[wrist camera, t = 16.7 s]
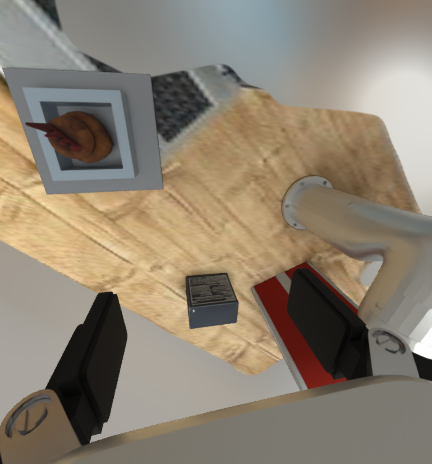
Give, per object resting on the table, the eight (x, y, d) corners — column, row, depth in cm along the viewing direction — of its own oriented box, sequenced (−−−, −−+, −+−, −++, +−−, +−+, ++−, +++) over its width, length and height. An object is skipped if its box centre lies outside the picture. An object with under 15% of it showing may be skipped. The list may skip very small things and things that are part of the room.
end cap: (150, 75, 33) (146, 65, 28) (163, 187, 40) (162, 194, 36) (7, 69, 30) (-26, 56, 25) (49, 193, 37) (31, 201, 32)
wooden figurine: (65, 126, 33) (-9, 117, 19) (97, 108, 33) (44, 87, 19) (95, 165, 36) (48, 181, 22) (124, 149, 36) (94, 156, 22)
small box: (185, 296, 53) (188, 331, 43) (185, 275, 50) (188, 307, 41) (226, 292, 55) (237, 324, 45) (227, 272, 52) (239, 301, 42)
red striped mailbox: (319, 300, 63) (410, 401, 38) (266, 324, 63) (325, 441, 39) (309, 259, 55) (414, 353, 31) (249, 287, 55) (309, 403, 31)
